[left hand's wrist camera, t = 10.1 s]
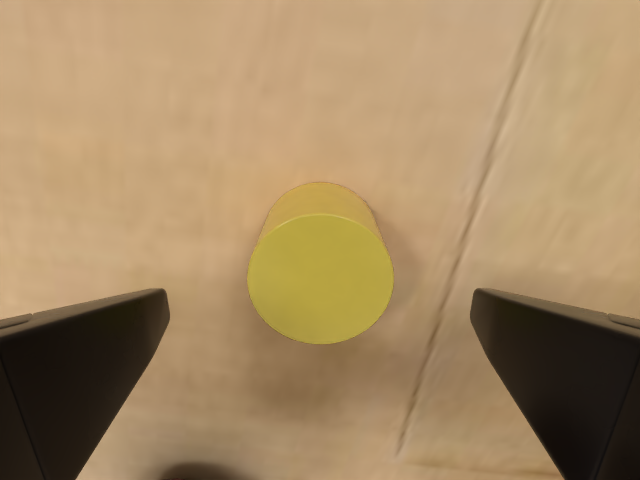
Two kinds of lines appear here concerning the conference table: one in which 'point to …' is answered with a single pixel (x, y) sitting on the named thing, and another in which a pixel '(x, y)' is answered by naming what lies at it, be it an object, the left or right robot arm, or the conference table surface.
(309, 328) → the canister
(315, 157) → the conference table surface
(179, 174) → the conference table surface
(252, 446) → the conference table surface
